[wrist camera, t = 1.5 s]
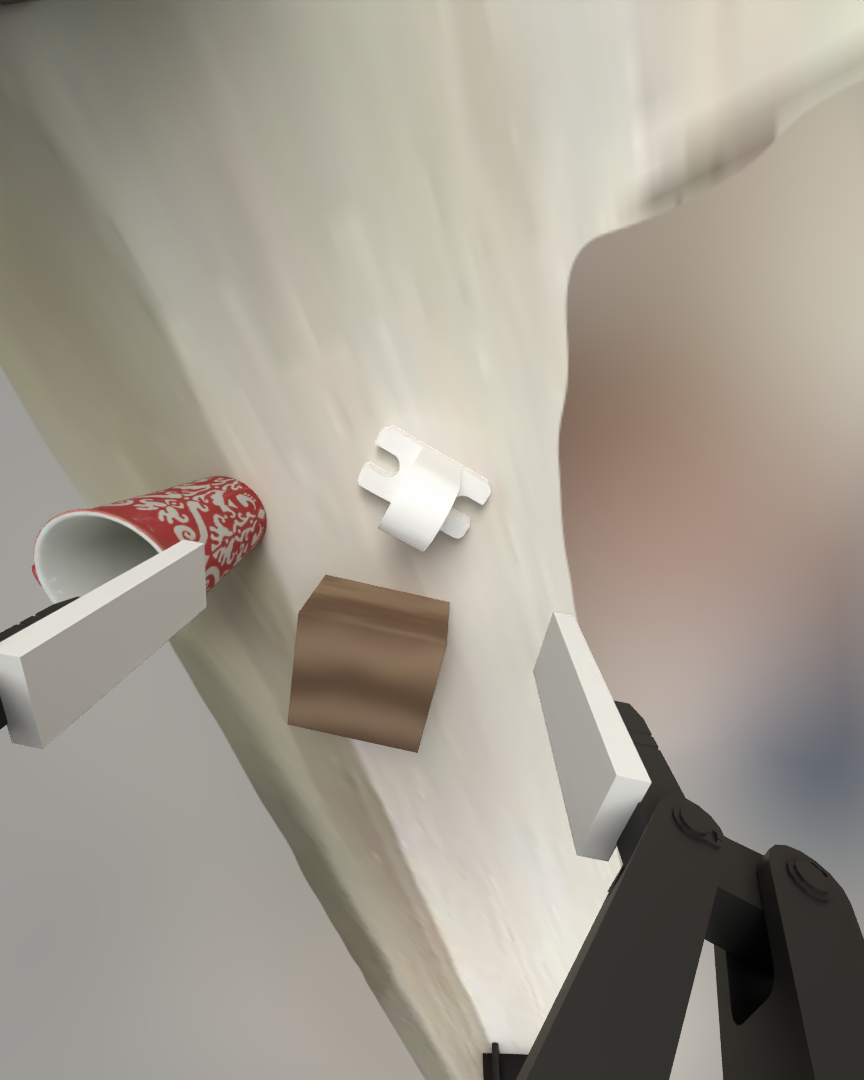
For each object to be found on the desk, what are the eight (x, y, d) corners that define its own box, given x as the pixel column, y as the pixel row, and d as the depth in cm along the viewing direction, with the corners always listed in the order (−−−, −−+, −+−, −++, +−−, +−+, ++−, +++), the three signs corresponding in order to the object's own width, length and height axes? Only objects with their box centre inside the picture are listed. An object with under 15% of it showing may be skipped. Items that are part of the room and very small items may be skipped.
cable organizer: (460, 532, 36) (458, 586, 26) (360, 477, 34) (322, 513, 25) (492, 482, 34) (502, 520, 24) (387, 422, 33) (357, 438, 23)
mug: (263, 459, 34) (149, 504, 22) (287, 556, 38) (200, 643, 25) (129, 472, 36) (-51, 520, 23) (163, 564, 39) (21, 650, 27)
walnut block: (326, 573, 38) (298, 612, 32) (449, 601, 38) (446, 645, 32) (314, 672, 43) (287, 724, 36) (424, 696, 43) (417, 752, 36)
